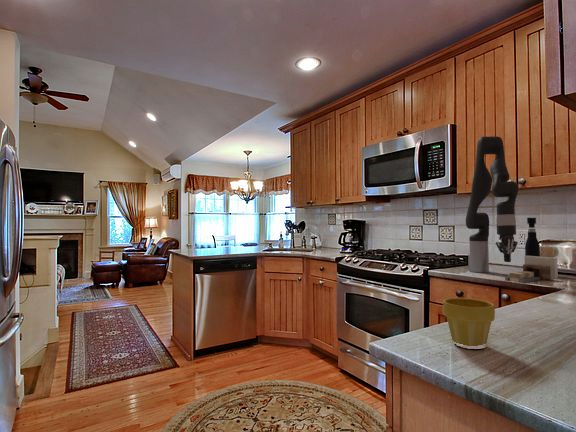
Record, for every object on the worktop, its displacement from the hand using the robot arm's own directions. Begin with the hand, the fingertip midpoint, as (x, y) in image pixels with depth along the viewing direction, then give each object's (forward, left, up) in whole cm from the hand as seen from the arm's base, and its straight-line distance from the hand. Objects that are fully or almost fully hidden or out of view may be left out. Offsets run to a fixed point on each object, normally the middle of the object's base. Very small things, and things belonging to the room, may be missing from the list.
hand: (507, 261), depth 156 cm
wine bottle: (-9, +36, -10) cm, 38 cm away
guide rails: (0, +11, -9) cm, 15 cm away
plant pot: (+47, -87, -10) cm, 100 cm away
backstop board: (-2, +30, -9) cm, 31 cm away
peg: (0, +11, -10) cm, 15 cm away
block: (0, +23, -9) cm, 24 cm away
